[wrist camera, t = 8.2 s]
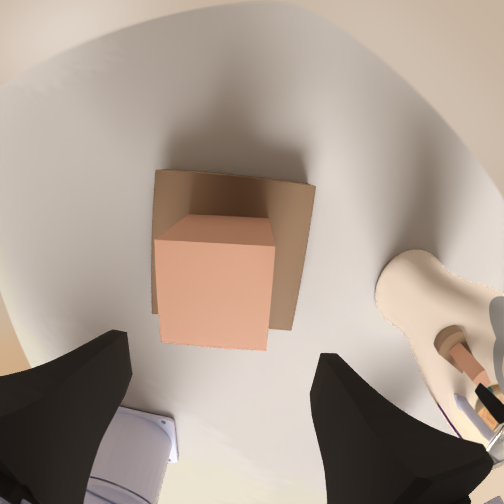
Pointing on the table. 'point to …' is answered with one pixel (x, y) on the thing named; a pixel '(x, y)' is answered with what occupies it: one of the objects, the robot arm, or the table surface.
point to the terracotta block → (215, 281)
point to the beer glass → (451, 342)
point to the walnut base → (242, 205)
